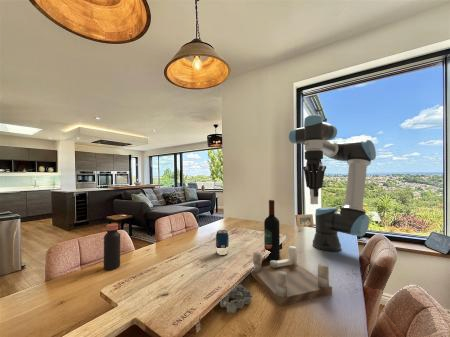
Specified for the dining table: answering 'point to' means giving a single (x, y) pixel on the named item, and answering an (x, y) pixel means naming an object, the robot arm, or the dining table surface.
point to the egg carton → (241, 298)
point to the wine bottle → (272, 234)
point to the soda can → (222, 239)
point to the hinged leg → (291, 261)
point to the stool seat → (291, 281)
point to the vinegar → (112, 247)
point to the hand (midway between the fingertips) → (314, 203)
